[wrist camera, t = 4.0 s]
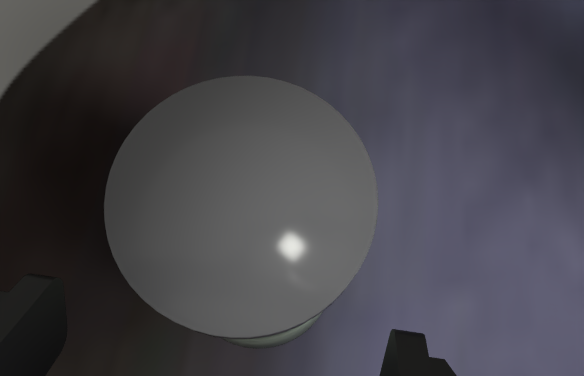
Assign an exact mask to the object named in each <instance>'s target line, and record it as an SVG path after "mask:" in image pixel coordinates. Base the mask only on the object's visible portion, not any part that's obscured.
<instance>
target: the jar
mask: <svg viewBox="0 0 584 376" xmlns="http://www.w3.org/2000/svg"><path fill="white" fill-rule="evenodd" d="M377 213H378V193H377V183H376V179H375V174H374V169H373V166H372V164H371V161H370V158H369V155H368V153H367V151H366V149H365V147H364V145H363V143H362V141H361V139H360V138H359V136H358V135H357V133H356V132H355V130H354V129H353V128H352V126H351V125H350V124H349V123H348V122H347V121H346V119H345V118H344V117H343V116H342V115H341V114H340V113H339V112H338V111H337V110H335V109H334V108H333V107H332V106H331V105H330V104H328V103H327V102H325V101H324V100H322V99H321V98H320V97H318V96H317V95H315V94H313V93H311V92H309V91H307V90H305V89H303V88H301V87H299V86H296V85H293V84H290V83H288V82H285V81H281V80H276V79H272V78H267V77H258V76H231V77H223V78H217V79H213V80H208V81H204V82H201V83H198V84H196V85H193V86H190V87H187V88H185V89H183V90H181V91H179V92H177V93H175V94H173V95H172V96H170V97H169V98H167V99H165V100H164V101H162V102H161V103H159V104H158V105H157V106H156V107H154V108H153V109H152V110H151V111H150V112H148V113H147V114H146V115H145V116H144V117H143V118H142V119H141V120H140V121H139V122H138V124H137V125H136V126H135V127H134V128H133V129H132V131H131V132H130V134H129V135H128V136H127V138H126V139H125V140H124V142H123V144H122V146H121V148H120V149H119V151H118V153H117V155H116V157H115V160H114V162H113V165H112V167H111V170H110V173H109V177H108V181H107V185H106V191H105V200H104V221H105V227H106V233H107V239H108V242H109V245H110V248H111V251H112V255H113V257H114V259H115V261H116V263H117V265H118V267H119V269H120V271H121V273H122V274H123V276H124V277H125V279H126V280H127V282H128V283H129V285H130V286H131V287H132V288H133V289H134V290H135V292H136V293H137V294H138V295H139V296H140V297H141V298H142V299H143V300H144V301H145V302H146V303H148V304H149V305H150V306H151V307H152V308H154V309H155V310H156V311H157V312H159V313H161V314H162V315H164V316H166V317H167V318H169V319H170V320H172V321H174V322H176V323H178V324H180V325H182V326H184V327H187V328H189V329H191V330H194V331H196V332H199V333H202V334H206V335H210V336H213V337H219V338H222V339H223V340H225V341H227V342H230V343H232V344H234V345H238V346H242V347H247V348H270V347H276V346H279V345H283V344H285V343H288V342H290V341H292V340H294V339H296V338H297V337H299V336H301V335H302V334H303V333H305V332H306V331H307V330H308V329H309V328H310V327H311V326H312V325H313V324H314V323H315V322H316V321H317V320H318V318H319V317H320V315H321V314H322V313H323V311H324V310H325V309H326V308H327V307H329V306H330V305H331V304H332V303H333V302H334V301H335V300H336V299H337V298H338V297H339V296H340V295H341V294H342V293H343V292H344V290H345V289H346V287H347V286H348V285H349V283H350V282H351V280H352V279H353V278H354V276H355V275H356V273H357V272H358V271H359V269H360V267H361V265H362V263H363V261H364V259H365V257H366V255H367V253H368V251H369V248H370V245H371V242H372V240H373V236H374V232H375V227H376V222H377Z"/></svg>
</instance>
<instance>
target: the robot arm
mask: <svg viewBox="0 0 584 376" xmlns="http://www.w3.org/2000/svg"><path fill="white" fill-rule="evenodd" d="M66 336H67V318H66V307H65V296H64V286H63V282H62V280H61V279H60V278H56V277H49V276H42V275H35V274H27V275H25V276H24V277H23V278H22V279H21V280H20V281H19V282H18V283H17V284H16V285H15V286H14V287H13V288H12V289H11V291H10V292H3V291H0V376H45V375H46V374H47V372H48V371H49V369H50V368H51V366H52V365H53V363H54V362H55V360H56V359H57V358H58V356H59V355H60V353H61V351H62V349H63V347H64V344H65V340H66ZM380 376H456V374H455V373H454V372H453V370H452V369H451V367H450V366H449V365H448V363H447V362H446V361H445V359H439V358H432V357H429V355H428V349H427V344H426V339H425V335H424V334H423V333H416V332H409V331H403V330H396V329H392V330H391V333H390V336H389V340H388V344H387V348H386V352H385V356H384V360H383V364H382V368H381V372H380Z"/></svg>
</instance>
